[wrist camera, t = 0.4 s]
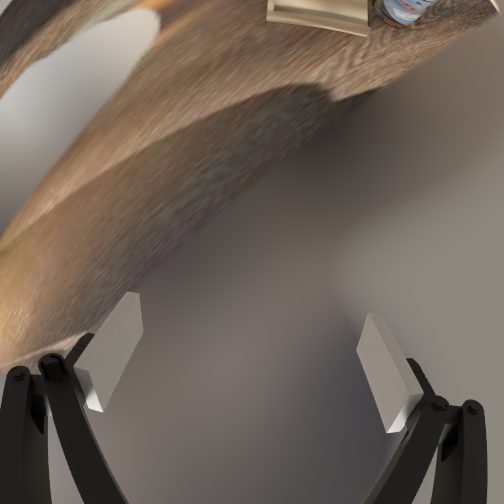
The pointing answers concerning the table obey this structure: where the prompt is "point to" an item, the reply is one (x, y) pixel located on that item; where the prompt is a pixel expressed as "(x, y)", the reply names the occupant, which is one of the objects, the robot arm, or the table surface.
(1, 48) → the table surface
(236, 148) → the table surface
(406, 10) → the beverage can
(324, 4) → the beige tray
